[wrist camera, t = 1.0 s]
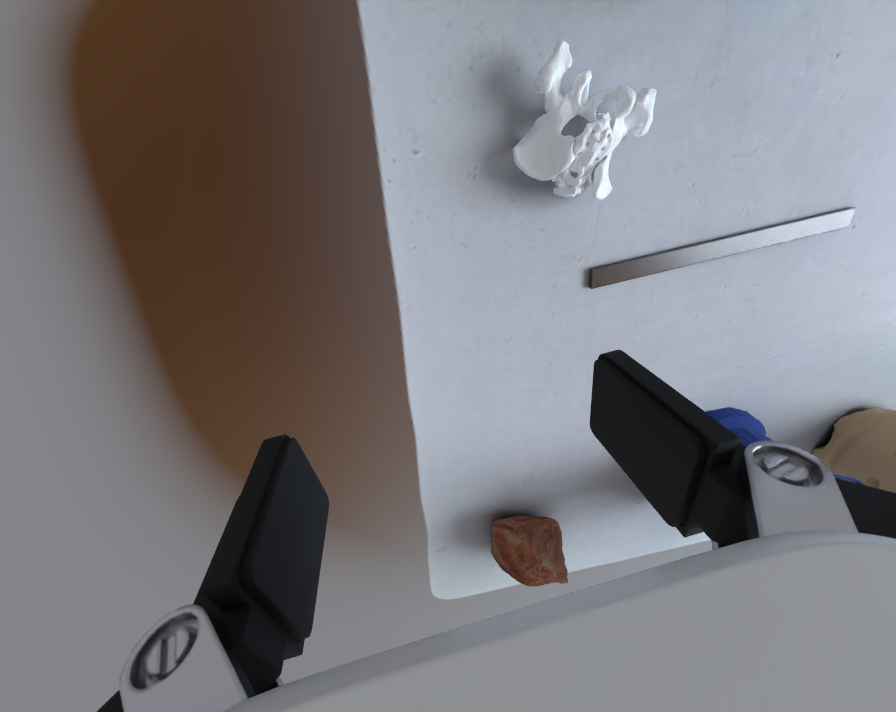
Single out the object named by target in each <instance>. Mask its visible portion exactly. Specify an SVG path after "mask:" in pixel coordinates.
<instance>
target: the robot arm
mask: <svg viewBox="0 0 896 712" xmlns="http://www.w3.org/2000/svg"><path fill="white" fill-rule="evenodd" d="M590 428H591V430H592V432H593V434H594V435H595V437H596V438H597V439H598V440H599V441H600V443H601V444H602V445H603V446H604V448H605V449H606V450H607V451H608V452H609V454H610V455H611V456H612V457H613V458H614V460H615V461H616V462H617V463H618V465H619V466H620V467H621V468H622V469H623V471H624V472H625V473H626V474H627V475H628V477H629V478H630V479H631V480H632V482H633V483H634V484H635V485H636V486H637V488H638V489H639V490H640V491H641V493H642V494H643V495H644V496H645V497H646V499H647V500H648V501H649V502H650V503H651V505H652V506H653V507H654V508H655V510H656V511H657V512H658V513H659V514H660V516H661V517H662V518H663V519H664V520H665V522H666V523H667V524H668V525H670V526H672V527H676V528H677V529H678V530H679V531H680V533H681V534H682V535H683V536H684V537H688V536H691V535H694V534H698V533H701V532H703V531H704V532H705V534H706V535H707V536H708V537H709V538H710V539H711V540H712V551H708V552H705V553H701V554H698V555H694V556H690V557H687V558H683V559H680V560H677V561H673V562H670V563H667V564H663V565H660V566H657V567H654V568H650V569H647V570H644V571H641V572H637V573H634V574H631V575H627V576H624V577H621V578H618V579H614V580H611V581H608V582H604V583H601V584H598V585H595V586H591V587H588V588H585V589H582V590H578V591H575V592H572V593H569V594H566V595H562V596H559V597H556V598H553V599H550V600H546V601H543V602H540V603H537V604H533V605H531V606H527V607H524V608H520V609H517V610H514V611H511V612H508V613H504V614H501V615H498V616H495V617H492V618H488V619H485V620H482V621H479V622H476V623H472V624H469V625H466V626H463V627H460V628H456V629H453V630H450V631H447V632H444V633H441V634H437V635H434V636H432V637H428V638H425V639H422V640H419V641H415V642H412V643H409V644H406V645H403V646H400V647H397V648H393V649H390V650H387V651H384V652H381V653H378V654H375V655H371V656H368V657H365V658H362V659H359V660H356V661H352V662H349V663H347V664H344V665H341V666H338V667H335V668H332V669H329V670H326V671H323V672H320V673H317V674H314V675H311V676H308V677H305V678H302V679H299V680H297V681H293V682H290V683H287V684H283V683H282V681H281V679H280V678H279V676H280V674H281V671H282V666H283V660H286V659H289V658H292V657H296V656H299V655H302V653H303V646H304V640H305V638H308V637H309V636H310V634H311V631H312V625H313V618H314V611H315V604H316V597H317V589H318V582H319V574H320V568H321V561H322V553H323V546H324V539H325V532H326V524H327V518H328V510H329V500H328V496H327V494H326V492H325V490H324V488H323V486H322V484H321V483H320V481H319V479H318V477H317V476H316V474H315V472H314V470H313V468H312V467H311V465H310V463H309V461H308V459H307V458H306V456H305V454H304V452H303V451H302V449H301V447H300V445H299V443H298V442H297V440H296V439H295V438H289V436H288V435H281V436H277V437H273V438H269V439H266V440H264V441H263V443H262V444H261V447H260V449H259V452H258V454H257V457H256V459H255V461H254V464H253V466H252V469H251V471H250V473H249V476H248V478H247V481H246V483H245V485H244V488H243V490H242V493H241V495H240V496H239V498H238V500H237V501H236V504H235V506H234V508H233V511H232V513H231V516H230V518H229V520H228V523H227V525H226V527H225V530H224V532H223V535H222V537H221V539H220V542H219V544H218V546H217V549H216V551H215V554H214V556H213V558H212V561H211V563H210V566H209V568H208V570H207V573H206V575H205V577H204V580H203V582H202V585H201V587H200V589H199V592H198V594H197V597H196V599H195V601H194V603H193V604H192V605H186V606H182V607H180V608H178V609H175V610H174V611H171V612H169V613H168V614H167V615H165V616H164V617H163V618H161V619H160V620H159V621H157V622H156V623H155V624H154V625H153V626H152V627H151V628H150V629H149V630H148V631H147V632H146V633H145V634H144V635H143V636H142V638H141V639H140V640H139V641H138V643H137V644H136V645H135V647H134V648H133V649H132V651H131V653H130V655H129V657H128V658H127V660H126V662H125V664H124V667H123V670H122V673H121V676H120V687H119V691H118V692H117V693H116V694H115V695H114V696H113V697H111V698H110V699H109V700H108V701H107V702H106V703H105V704H104V705H103V706H102V707H101V708H100V709H99V710H98V711H97V712H896V493H893V492H890V491H886V490H882V489H878V488H874V487H870V486H866V485H862V484H858V483H854V482H851V481H847V480H843V479H839V478H835V477H834V475H833V474H832V472H831V471H830V469H829V468H828V466H827V465H825V464H824V463H823V462H822V461H821V460H820V459H818V458H817V457H815V456H814V455H812V454H810V453H809V452H807V451H805V450H802V449H800V448H798V447H795V446H793V445H789V444H785V443H782V442H775V441H757V442H754V443H752V444H749V445H748V447H746V446H744V445H743V444H742V443H740V442H739V441H740V437H738V436H737V435H736V434H734V433H733V432H732V431H730V430H729V429H727V428H726V427H725V426H723V425H722V424H721V423H719V422H718V421H717V420H715V419H714V418H713V417H711V416H710V415H708V414H707V413H706V412H704V411H703V410H702V409H700V408H699V407H698V406H696V405H695V404H694V403H692V402H691V401H689V400H688V399H687V398H685V397H684V396H683V395H681V394H680V393H679V392H677V391H676V390H675V389H673V388H672V387H670V386H669V385H668V384H666V383H665V382H664V381H662V380H661V379H660V378H658V377H657V376H656V375H654V374H653V373H651V372H650V371H649V370H647V369H646V368H645V367H643V366H642V365H641V364H639V363H638V362H637V361H635V360H634V359H632V358H631V357H630V356H628V355H627V354H626V353H624V352H623V351H621V350H615V351H611V352H608V353H604V354H601V355H600V356H599V357H598V360H596V361H595V362H594V372H593V386H592V400H591V414H590Z"/></svg>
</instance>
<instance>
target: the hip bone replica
mask: <svg viewBox="0 0 896 712" xmlns="http://www.w3.org/2000/svg"><path fill="white" fill-rule="evenodd" d="M571 64H572V57H571V54H570V52H569V45H568V44H567V43H566V42H564V41H558V42H557V43H556V46H555V48H554V50H553V53H552V55H551V57H550V58H549V60H548V61H547V63H546V64H545V65H544V66H543V67H541V69H540V70H539V73H538V77H537V81H536V89H537V92H538V93H544V94H545V112H546V113H545V114H544V115H542V116H541V117H539V118H538V119H537V120H536V122H535V124H534V127H533V128H532V129H531V131H530V132H529V133H528V134H527V135H526V136H524V137H522V138H521V140H520V141H519V142H518V143H517V145H516V146H515V147H513V158H514V162H515V164H516V165H517V166H518V167H519V168H520V169H521V170H522V171H523V172H524V173H525V174H526V175H528V176H530V177H531V178H535V179H537V180H541V181H546V180H550V179H552V182H556V183H555V185H556V186H557V187H559V188H557V187H555V188H554V189H553V192H554V194H556V195H558V196H562V197H570V196H572V197H574V196H575V195H577V194H580V193H581V192H583V191H584V190H585V188H586V187H585V185H583V184H584V183H585V182H586V180H587V182H588V184H592V181H593V178H594V181H593V197H594V198H596V199H598V200H602V199H604V198H605V197H606V196H607V195H608V194H609V193H610V192H611V190H612V187H611V184H610V181H609V177H608V166H609V161H610V158H611V154H612V152H613V150H614V148H615V147H616V146H617V145H618V144H619V142H620V140H621V139H622V138H623V137H624V135H625V134H626V133H632V135H634V136H636V137H637V138H638V137H642V136H643V135H645V134H646V132H647V131H648V129H649V127H650V125H651V123H652V120H653V108H654V101H655V97H656V92H657V91H656V90H655V89H652V88H643V89H641V90H640V91H639V95H638V98H637V101H636V103H635V104H634V102H635V92H634V91H633V90H632V89H631V88H629V87H627V86H619V87H617V88H613V89H609V90H605V91H603V92H601V93H599V94H597V95H595V96H593V97H591V98H589V99H588V95H589V83H590V80H591V78H592V75H591V71H590V70H586V71H584V72H581V73H579V74H578V75H577V77H576V78H575V80H574V83H573V86H572V90H571V92H570V93H566V94H565V96H563V95H562V93H561V81H562V76H563V74H564V72H565V71H566V70H567V69H569V68H570V67H571ZM609 99H617V100H618V105H617V107H616V109H615V110H614V112H613V113H612V114H611V115H610V116H609V114H608V112H607V113H605V114H601V113H598V115H599V114H600V116H601V120H598V119H597V118H596V108H597V107H598V105H599V104H600V103H601V102H603V101H606V100H609ZM633 105H634V106H633ZM576 115H580V116H582V117H584V118H586V119H587V120H588V121H589V122H590V123H588V124H587V125H586V127H585V129H584V131H583V133H582V134H580V135H579V136H577V137H575V138H574V137H572V136H570V135H567V136H563V135H561V131H562V129H563V127H564V126H565V125H566V124H567V122H568V121H569V120H571V119H572V118H573V117H574V116H576ZM591 130H593V131H594V132H591ZM587 141H589V143H586V142H587ZM559 174H560V176H558V175H559Z"/></svg>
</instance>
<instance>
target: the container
mask: <svg viewBox="0 0 896 712" xmlns="http://www.w3.org/2000/svg"><path fill="white" fill-rule="evenodd" d="M812 455H814V456H815V457H817V458H818V459H820V460H821V461H822V462H823V463H824V464H825V465H827V466H828V468H829V469H830V471H831V472H832V473H833V474H837V475H842V476H846V477H851V478H855V479H857V480H859V481H861V482H862V483H863V484H864V485H866V486H870V487H874V488H878V489H882V490H886V491H890V492H893V493H896V411H894V410H888V409H882V408H871V409H867V410H864V411H860V412H854V413H852V414H850V415H847V416H843V417H841V418H840V419H839V420H838V421H837V423H835V424H834V432H833V434H832V438H831V440H830V441H829V443H828V444H827V445H826V446H823V447H819V448H815V449H814V450H813V451H812ZM843 480H844V479H843ZM847 481H848V480H847ZM851 482H853V481H851ZM854 483H856V482H854Z"/></svg>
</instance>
